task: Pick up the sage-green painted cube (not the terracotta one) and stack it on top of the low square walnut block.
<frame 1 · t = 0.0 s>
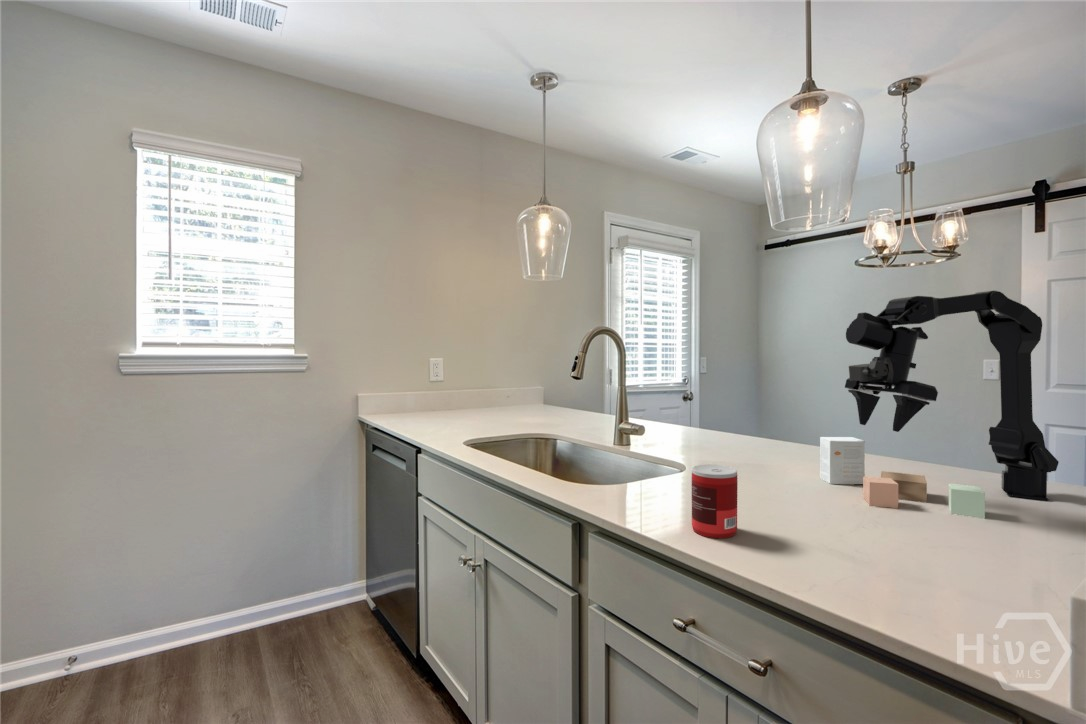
hand: (878, 427, 108), 15 cm above the counter, tool pointing down, fingers open, 9 cm apart
small box: (841, 482, 124), on the counter
terracotta cube: (880, 504, 106), on the counter
sage cube: (966, 513, 100), on the counter
walnut block: (902, 495, 112), on the counter
canned food: (714, 532, 91), on the counter
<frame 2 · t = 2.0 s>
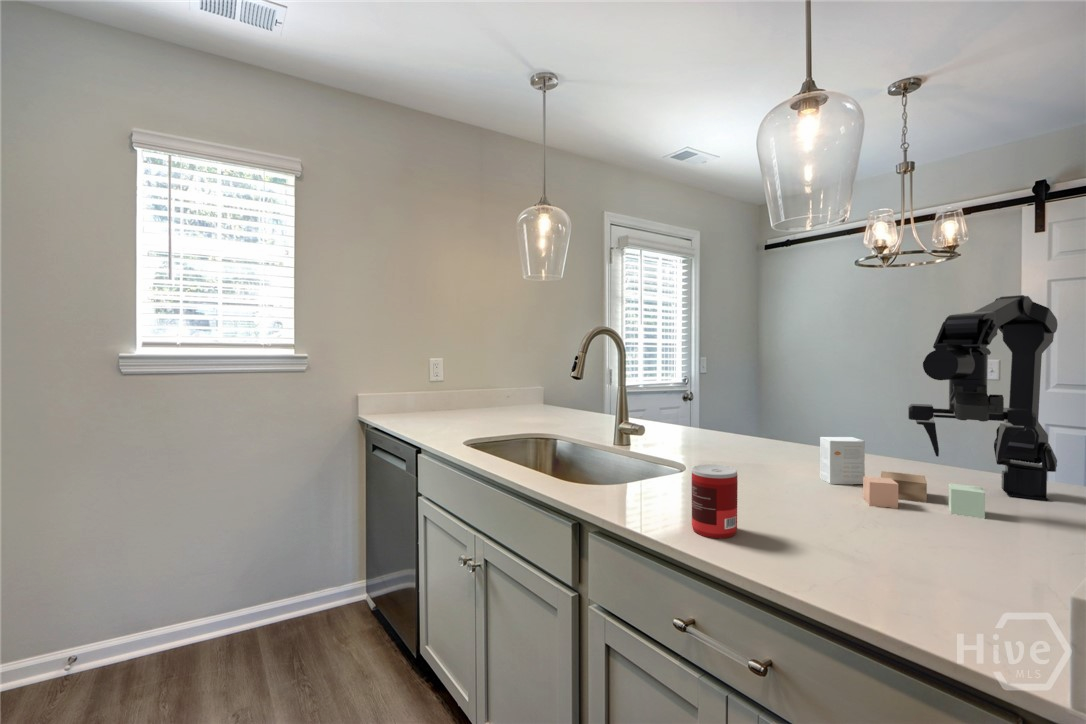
hand: (966, 458, 100), 11 cm above the counter, tool pointing down, fingers open, 9 cm apart
nothing on the counter moved.
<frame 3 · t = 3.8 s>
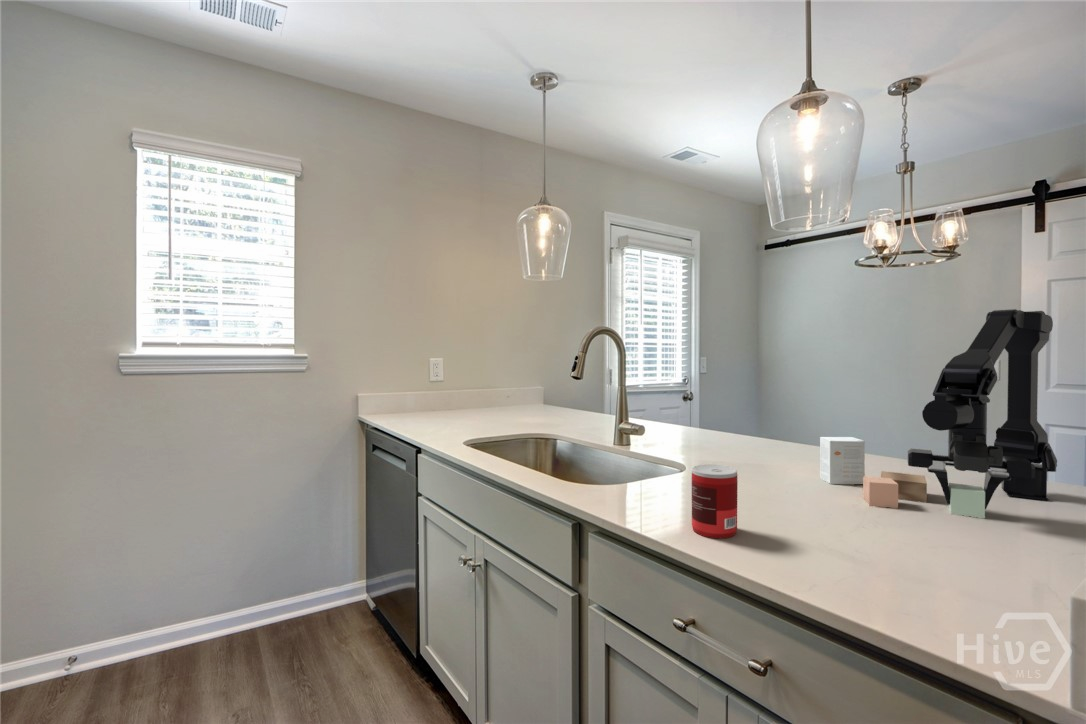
hand: (966, 506, 100), 1 cm above the counter, tool pointing down, fingers closed on sage cube, 5 cm apart
sage cube: (966, 512, 100), on the counter, touching gripper
everything else where it was.
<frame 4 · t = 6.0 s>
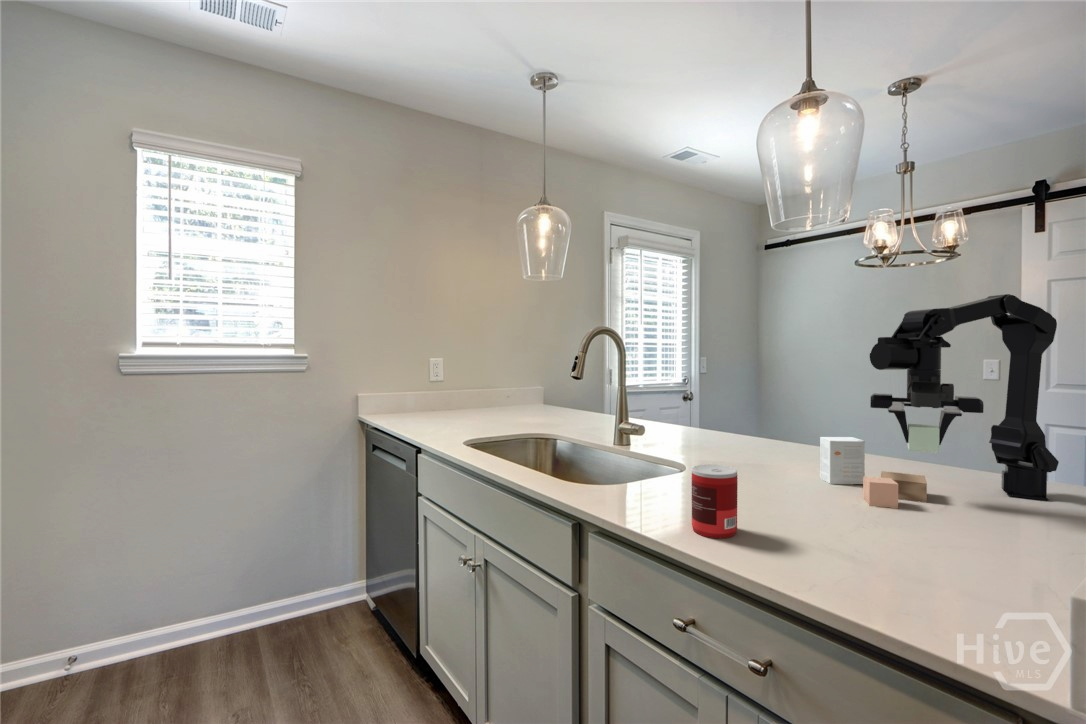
hand: (922, 443, 108), 12 cm above the counter, tool pointing down, fingers closed on sage cube, 5 cm apart
sage cube: (922, 449, 108), point 11 cm above the counter, touching gripper
everything else where it was.
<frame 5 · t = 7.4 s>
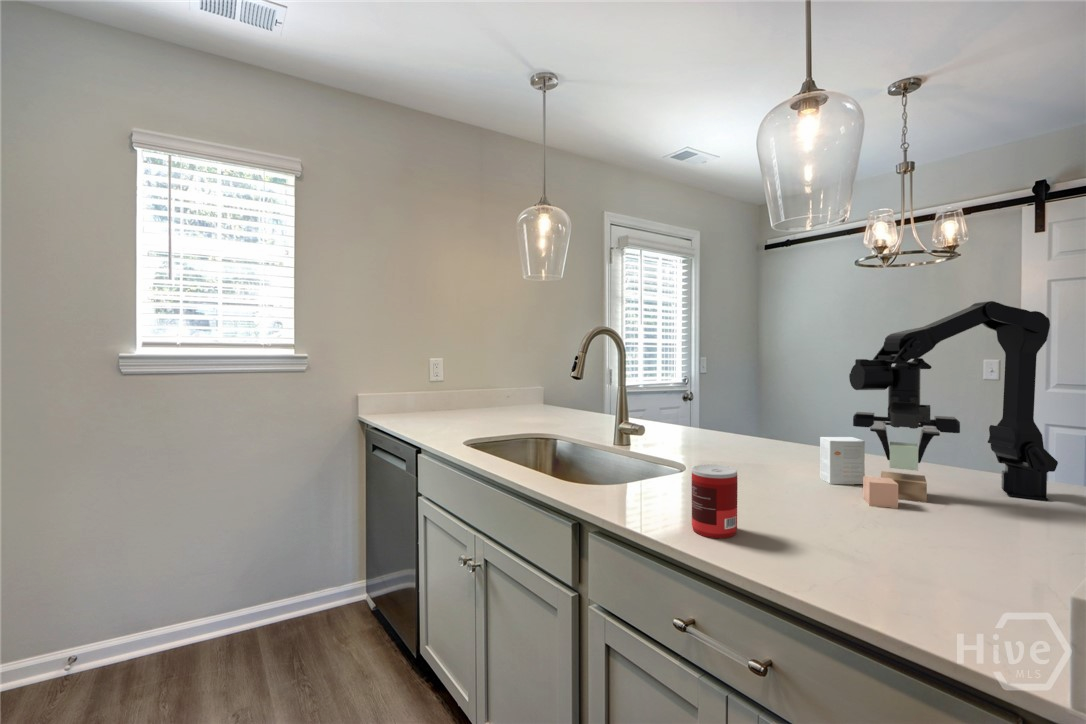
hand: (903, 461, 112), 7 cm above the counter, tool pointing down, fingers closed on sage cube, 5 cm apart
sage cube: (903, 467, 112), point 6 cm above the counter, touching gripper
everything else where it was.
when the fingers open (6 cm above the counter, at t = 8.4 s): sage cube drops 1 cm, resting on walnut block.
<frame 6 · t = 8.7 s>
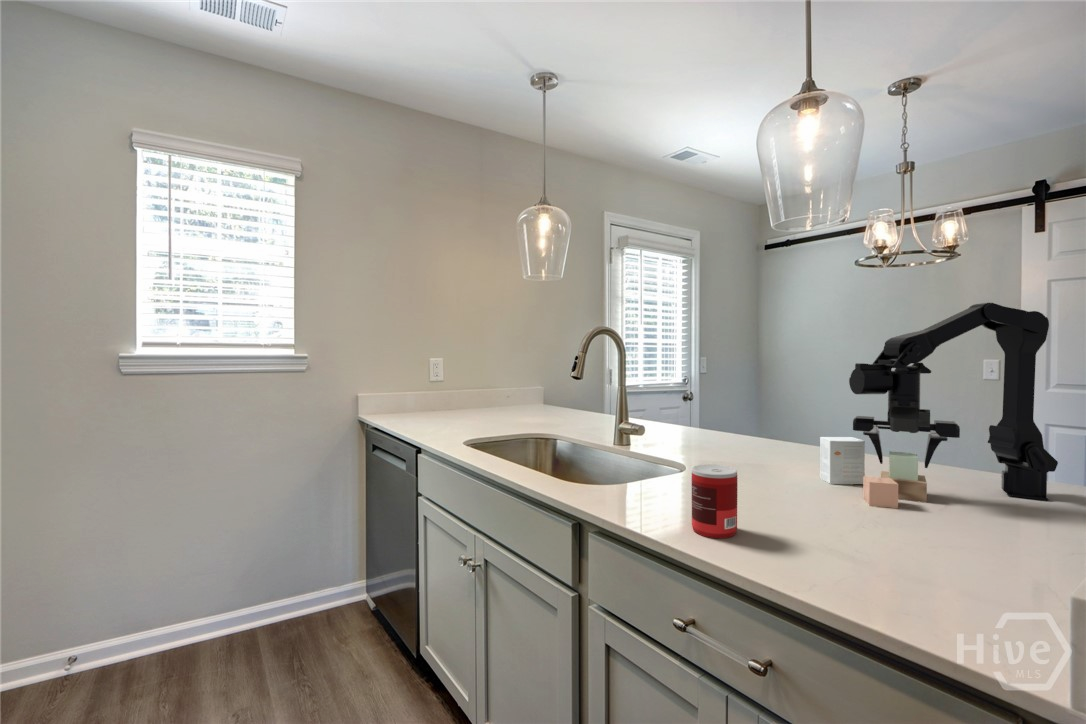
hand: (903, 465, 112), 6 cm above the counter, tool pointing down, fingers open, 8 cm apart
sage cube: (903, 477, 112), point 4 cm above the counter, touching walnut block
everything else where it was.
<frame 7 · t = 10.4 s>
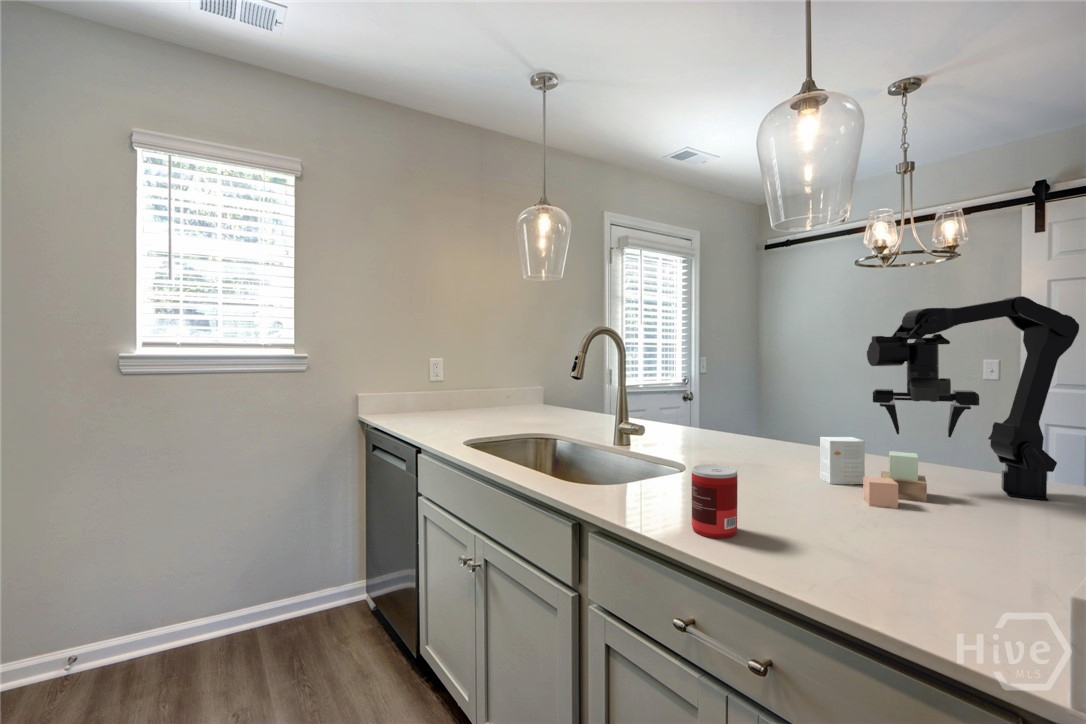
hand: (923, 435, 114), 13 cm above the counter, tool pointing down, fingers open, 9 cm apart
nothing on the counter moved.
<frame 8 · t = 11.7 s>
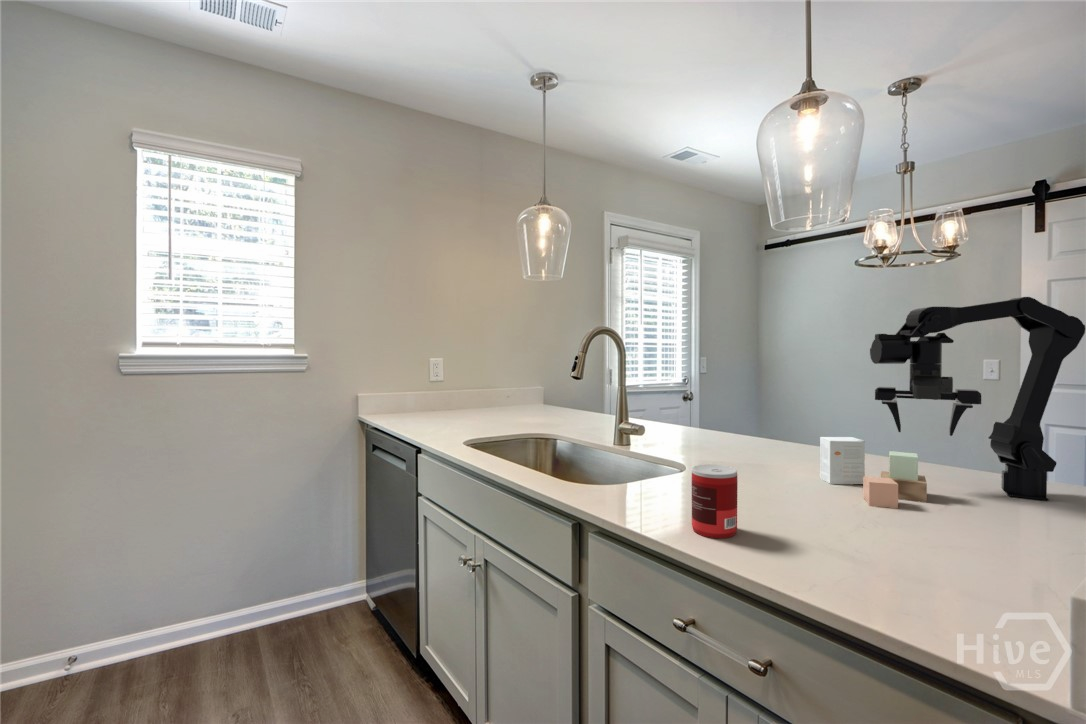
hand: (924, 433, 115), 13 cm above the counter, tool pointing down, fingers open, 9 cm apart
nothing on the counter moved.
at the end: sage cube inside the target area on the walnut block (0.0 cm from its centre), point 4.0 cm above the walnut block's base; sage cube tilted 0°; sage cube touching walnut block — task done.
